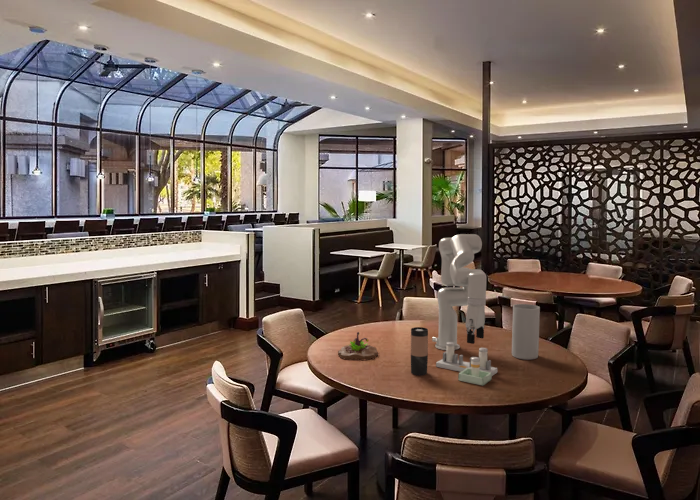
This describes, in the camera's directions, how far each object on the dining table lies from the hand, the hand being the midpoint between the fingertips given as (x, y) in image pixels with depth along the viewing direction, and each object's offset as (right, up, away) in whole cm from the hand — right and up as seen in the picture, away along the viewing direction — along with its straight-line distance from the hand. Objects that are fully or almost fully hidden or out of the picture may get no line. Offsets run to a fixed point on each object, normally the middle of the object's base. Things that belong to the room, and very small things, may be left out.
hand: (475, 340), depth 227 cm
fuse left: (-7, -13, +20) cm, 25 cm away
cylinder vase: (+33, -14, +35) cm, 50 cm away
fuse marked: (0, -17, +1) cm, 17 cm away
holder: (-1, -16, +15) cm, 22 cm away
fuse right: (+6, -14, +10) cm, 18 cm away
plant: (-50, -14, +40) cm, 65 cm away
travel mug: (-23, -17, +10) cm, 30 cm away
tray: (0, -17, +1) cm, 17 cm away
